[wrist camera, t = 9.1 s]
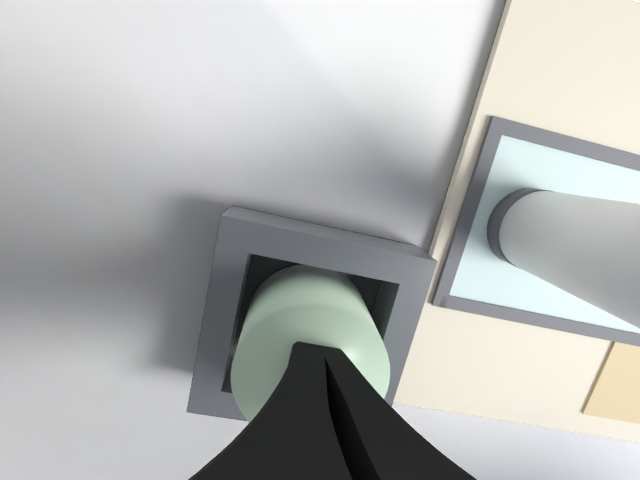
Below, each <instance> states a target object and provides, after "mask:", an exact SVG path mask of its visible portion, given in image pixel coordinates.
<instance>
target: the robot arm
mask: <svg viewBox="0 0 640 480" xmlns="http://www.w3.org/2000/svg"><path fill="white" fill-rule="evenodd" d="M188 480H476V479H475V478H474V477H472V476H471V475H470V474H468V473H467V472H466V471H464V470H463V469H462V468H460V467H459V466H458V465H456V464H455V463H454V462H452V461H451V460H450V459H448V458H447V457H446V456H445V455H443V454H442V453H441V452H440V451H438V450H437V449H436V448H435V447H434V446H432V445H431V444H430V443H429V442H428V441H427V440H426V439H424V438H423V437H422V436H421V435H420V434H419V433H418V432H416V431H415V430H414V429H413V428H412V427H411V426H410V425H409V424H408V423H407V422H406V421H405V420H404V419H403V418H402V417H401V416H400V415H399V414H398V413H397V412H396V411H395V410H394V409H393V408H392V407H391V406H390V405H389V404H388V403H387V402H386V401H385V400H384V399H383V398H382V397H381V396H380V394H379V393H378V392H377V391H376V390H375V389H374V388H373V387H372V385H371V384H370V383H369V382H368V381H367V380H366V378H365V377H364V376H363V375H362V374H361V372H360V371H359V370H358V369H357V367H356V366H355V365H354V364H353V363H352V361H351V360H350V359H349V358H348V357H347V355H346V354H345V353H344V352H343V351H342V350H341V349H339V348H333V347H327V346H321V345H316V344H310V343H305V342H299V341H297V342H296V343H294V344H293V346H292V350H291V354H290V358H289V362H288V367H287V369H286V371H285V373H284V374H283V376H282V378H281V380H280V382H279V384H278V385H277V387H276V388H275V390H274V391H273V393H272V394H271V396H270V398H269V399H268V400H267V402H266V403H265V404H264V406H263V407H262V408H261V410H260V411H259V412H258V414H257V415H256V416H255V417H254V418H253V420H252V421H251V422H250V423H249V424H248V425H247V426H246V427H245V429H244V430H243V431H242V432H241V433H240V434H239V435H238V436H237V437H236V438H235V439H234V440H233V441H232V442H231V443H230V444H229V445H228V446H227V447H226V448H225V449H224V450H223V451H222V452H220V453H219V454H218V455H217V456H216V457H215V458H213V459H212V460H211V461H210V462H209V463H208V464H207V465H205V466H204V467H203V468H202V469H201V470H200V471H198V472H197V473H196V474H195V475H193V476H192V477H191V478H190V479H188Z"/></svg>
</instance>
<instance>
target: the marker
mask: <svg viewBox="0 0 640 480" xmlns="http://www.w3.org/2000/svg"><path fill="white" fill-rule="evenodd" d="M487 239H488V243H489V245H490V248H491V249H492V251H493V252H494V253H495V255H496V256H498V257H499V258H500V259H502V260H503V261H505V262H507V263H509V264H511V265H513V266H515V267H517V268H520V269H522V270H524V271H526V272H528V273H530V274H532V275H534V276H536V277H538V278H540V279H542V280H544V281H546V282H548V283H550V284H552V285H554V286H556V287H558V288H560V289H562V290H564V291H566V292H568V293H570V294H572V295H574V296H576V297H578V298H580V299H582V300H584V301H586V302H588V303H590V304H592V305H594V306H596V307H598V308H600V309H602V310H604V311H606V312H607V313H609V314H611V315H613V316H615V317H617V318H619V319H621V320H623V321H625V322H627V323H629V324H631V325H633V326H635V327H637V328H639V329H640V204H637V203H630V202H623V201H616V200H609V199H602V198H595V197H588V196H581V195H574V194H567V193H559V192H554V191H550V190H542V189H535V188H524V189H520V190H516V191H514V192H512V193H510V194H508V195H507V196H505V197H504V198H503V199H502V200H500V201H499V203H498V204H497V205H496V206H495V208H494V209H493V211H492V213H491V214H490V217H489V220H488V224H487Z"/></svg>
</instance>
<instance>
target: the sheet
mask: <svg viewBox="0 0 640 480" xmlns="http://www.w3.org/2000/svg"><path fill="white" fill-rule="evenodd" d="M524 188H535V189H542V190H550V191H554V192H559V193H567V194H574V195H581V196H588V197H595V198H602V199H609V200H616V201H623V202H630V203H637V204H640V3H637V2H634V1H631V0H507V1H506V4H505V7H504V10H503V14H502V17H501V20H500V23H499V26H498V30H497V33H496V36H495V39H494V43H493V46H492V49H491V52H490V56H489V59H488V62H487V65H486V69H485V72H484V75H483V78H482V81H481V85H480V88H479V91H478V94H477V98H476V101H475V104H474V107H473V111H472V114H471V117H470V120H469V124H468V127H467V130H466V133H465V136H464V140H463V143H462V146H461V149H460V153H459V156H458V159H457V162H456V166H455V169H454V172H453V175H452V178H451V182H450V185H449V188H448V191H447V195H446V198H445V201H444V204H443V208H442V211H441V214H440V217H439V221H438V224H437V227H436V230H435V233H434V237H433V240H432V243H431V246H430V250H429V253H428V254H429V255H430V256H431V257H433V258H434V259H435V260H436V261H438V262H437V265H436V268H435V271H434V275H433V278H432V281H431V284H430V287H429V290H428V293H427V297H426V300H425V303H424V306H423V309H422V312H421V316H420V319H419V322H418V325H417V328H416V331H415V335H414V338H413V341H412V344H411V347H410V350H409V353H408V357H407V360H406V363H405V366H404V369H403V372H402V376H401V379H400V382H399V385H398V388H397V391H396V395H395V398H394V401H393V403H395V404H401V405H407V406H413V407H420V408H426V409H432V410H438V411H444V412H451V413H457V414H463V415H469V416H475V417H481V418H488V419H494V420H500V421H506V422H512V423H519V424H525V425H531V426H537V427H543V428H549V429H556V430H562V431H568V432H574V433H580V434H586V435H593V436H599V437H605V438H611V439H617V440H624V441H630V442H636V443H640V329H639V328H637V327H635V326H633V325H631V324H629V323H627V322H625V321H623V320H621V319H619V318H617V317H615V316H613V315H611V314H609V313H607V312H606V311H604V310H602V309H600V308H598V307H596V306H594V305H592V304H590V303H588V302H586V301H584V300H582V299H580V298H578V297H576V296H574V295H572V294H570V293H568V292H566V291H564V290H562V289H560V288H558V287H556V286H554V285H552V284H550V283H548V282H546V281H544V280H542V279H540V278H538V277H536V276H534V275H532V274H530V273H528V272H526V271H524V270H522V269H520V268H517V267H515V266H513V265H511V264H509V263H507V262H505V261H503V260H502V259H500V258H499V257H498V256H496V255H495V253H494V252H493V251H492V249H491V248H490V245H489V243H488V239H487V224H488V220H489V217H490V214H491V213H492V211H493V209H494V208H495V206H496V205H497V204H498V203H499V201H500V200H502V199H503V198H504V197H505V196H507V195H508V194H510V193H512V192H514V191H516V190H520V189H524Z"/></svg>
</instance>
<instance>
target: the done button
mask: <svg viewBox="0 0 640 480" xmlns="http://www.w3.org/2000/svg"><path fill="white" fill-rule="evenodd" d="M297 341H299V342H305V343H310V344H316V345H321V346H327V347H333V348H339V349H341V350H342V351H343V352H344V353H345V354H346V355H347V357H348V358H349V359H350V360H351V361H352V363H353V364H354V365H355V366H356V367H357V369H358V370H359V371H360V372H361V374H362V375H363V376H364V377H365V378H366V380H367V381H368V382H369V383H370V384H371V385H372V387H373V388H374V389H375V390H376V391H377V392H378V393H379V394H380V396H381V397H382V398H383V399H384V398H385V396H386V393H387V390H388V386H389V382H390V362H389V357H388V353H387V351H386V348H385V345H384V343H383V341H382V339H381V337H380V335H379V333H378V330H377V328H376V326H375V324H374V322H373V320H372V318H371V315H370V313H369V311H368V309H367V307H366V305H365V303H364V300H363V298H362V296H361V294H360V292H359V291H358V289H357V288H356V286H355V285H354V284H353V283H352V282H351V281H350V280H349V279H348V278H347V277H346V276H344V275H343V274H341V273H340V272H338V271H334V270H329V269H324V268H319V267H314V266H309V265H304V264H300V265H294V266H290V267H287V268H284V269H282V270H280V271H278V272H276V273H274V274H273V275H271V276H270V277H269V278H267V279H266V280H265V281H264V282H263V283H262V284H261V285H260V286H259V288H258V289H257V290H256V292H255V293H254V295H253V297H252V299H251V302H250V304H249V308H248V311H247V315H246V318H245V321H244V325H243V328H242V331H241V335H240V338H239V342H238V345H237V348H236V352H235V355H234V359H233V362H232V367H231V388H232V393H233V396H234V399H235V402H236V404H237V406H238V408H239V410H240V411H241V413H242V414H243V415H244V417H245V418H246V419H247V420H248V421H249V422H251V421H252V420H253V418H254V417H255V416H256V415H257V414H258V412H259V411H260V410H261V408H262V407H263V406H264V404H265V403H266V402H267V400H268V399H269V398H270V396H271V394H272V393H273V391H274V390H275V388H276V387H277V385H278V384H279V382H280V380H281V378H282V376H283V374H284V373H285V371H286V369H287V367H288V362H289V358H290V354H291V350H292V346H293V344H294V343H296V342H297Z"/></svg>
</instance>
